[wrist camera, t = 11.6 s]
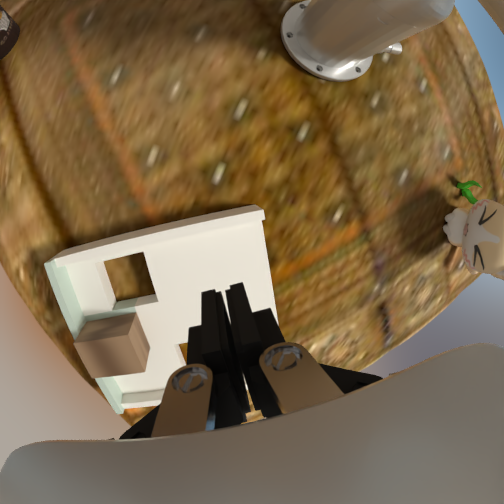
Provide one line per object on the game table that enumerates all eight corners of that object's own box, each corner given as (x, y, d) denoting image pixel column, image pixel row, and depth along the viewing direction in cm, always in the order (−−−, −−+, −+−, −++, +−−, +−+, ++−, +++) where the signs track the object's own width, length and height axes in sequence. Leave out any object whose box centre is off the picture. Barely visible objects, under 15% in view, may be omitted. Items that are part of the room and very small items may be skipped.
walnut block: (136, 312, 31) (128, 334, 26) (150, 347, 32) (145, 372, 28) (86, 321, 30) (73, 343, 25) (102, 354, 32) (92, 378, 27)
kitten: (443, 171, 36) (520, 182, 22) (475, 186, 38) (542, 199, 24) (426, 263, 40) (495, 299, 26) (459, 266, 42) (520, 297, 28)
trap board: (254, 204, 32) (265, 211, 27) (280, 359, 39) (291, 383, 34) (63, 249, 30) (43, 263, 24) (123, 388, 36) (116, 414, 31)
